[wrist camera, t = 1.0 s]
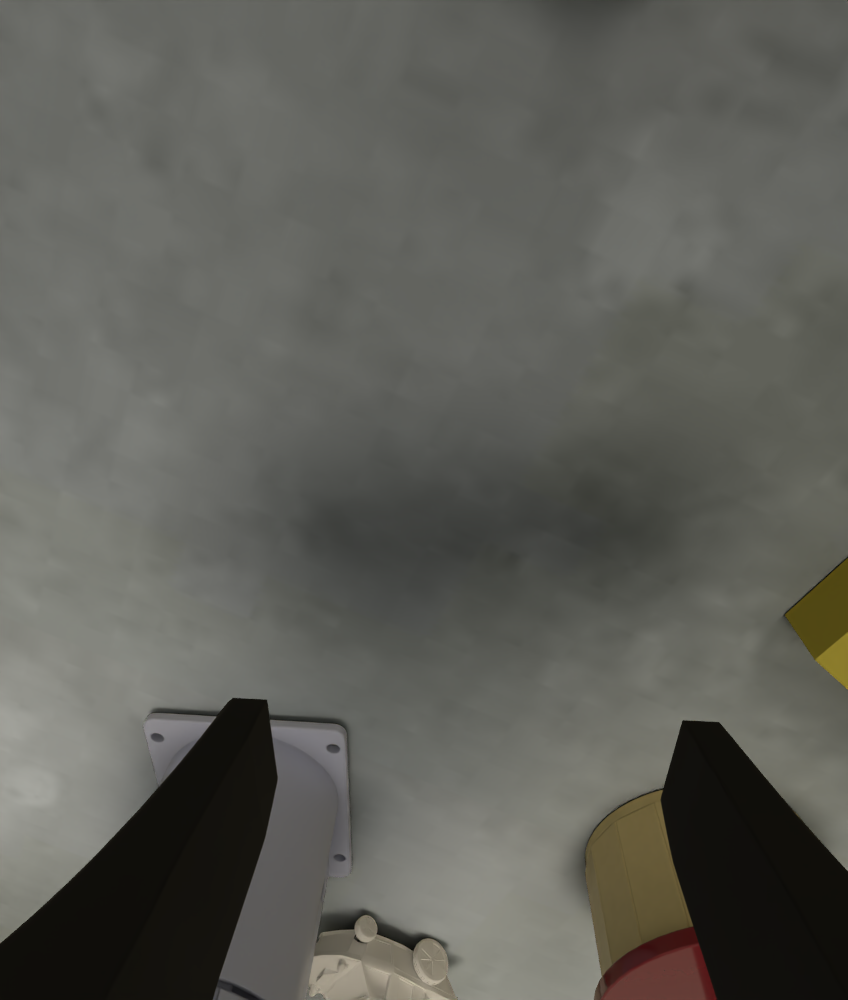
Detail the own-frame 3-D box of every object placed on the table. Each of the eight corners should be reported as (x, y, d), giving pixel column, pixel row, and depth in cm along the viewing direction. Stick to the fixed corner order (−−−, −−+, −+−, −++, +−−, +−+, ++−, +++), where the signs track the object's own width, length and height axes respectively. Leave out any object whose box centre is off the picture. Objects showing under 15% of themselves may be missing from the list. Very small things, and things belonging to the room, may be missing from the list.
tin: (773, 923, 31) (830, 1069, 26) (571, 909, 31) (590, 1050, 26) (840, 790, 26) (924, 937, 21) (602, 775, 26) (633, 917, 22)
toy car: (417, 989, 35) (412, 1086, 32) (285, 938, 34) (264, 1034, 30) (467, 951, 33) (468, 1050, 30) (329, 894, 32) (312, 993, 28)
